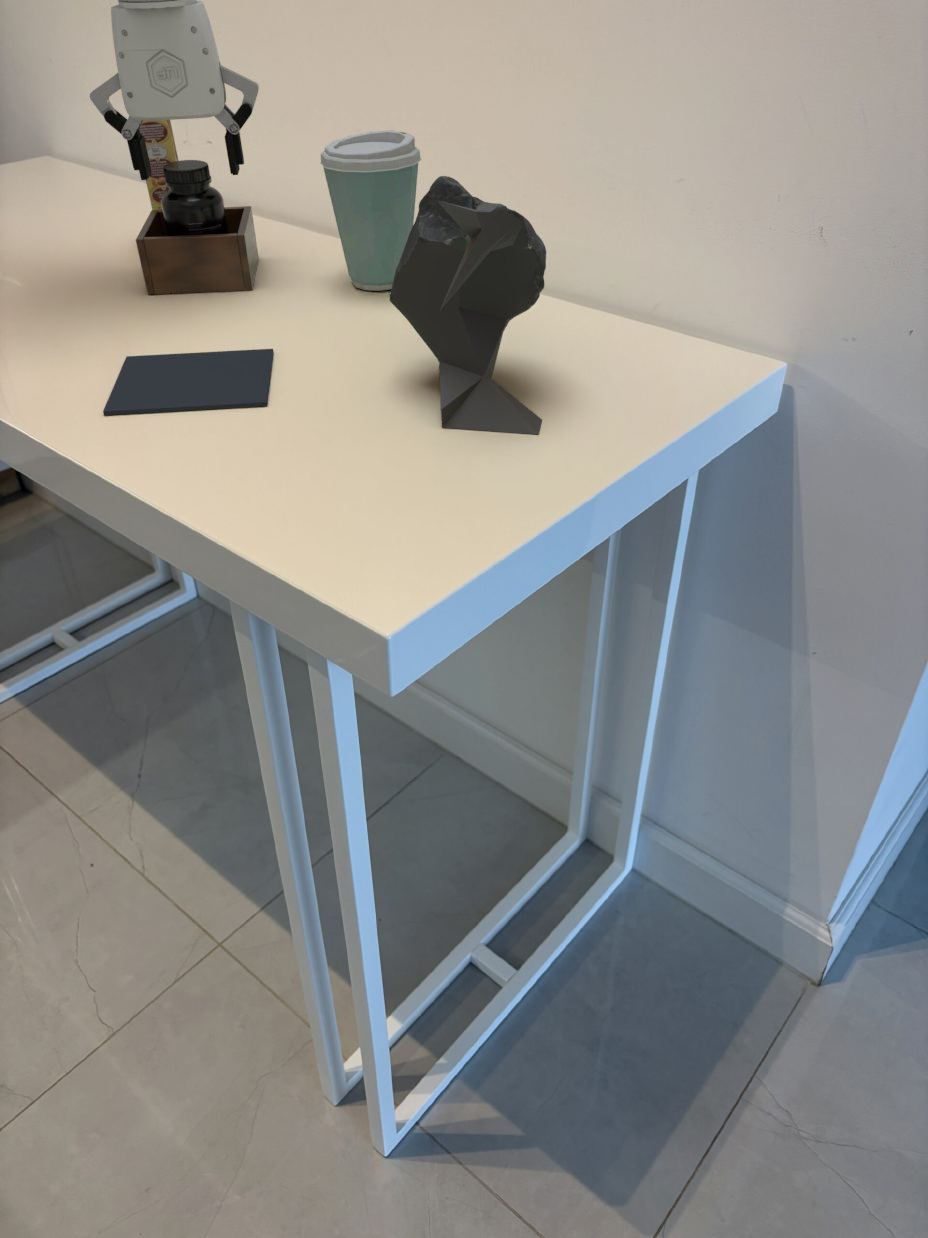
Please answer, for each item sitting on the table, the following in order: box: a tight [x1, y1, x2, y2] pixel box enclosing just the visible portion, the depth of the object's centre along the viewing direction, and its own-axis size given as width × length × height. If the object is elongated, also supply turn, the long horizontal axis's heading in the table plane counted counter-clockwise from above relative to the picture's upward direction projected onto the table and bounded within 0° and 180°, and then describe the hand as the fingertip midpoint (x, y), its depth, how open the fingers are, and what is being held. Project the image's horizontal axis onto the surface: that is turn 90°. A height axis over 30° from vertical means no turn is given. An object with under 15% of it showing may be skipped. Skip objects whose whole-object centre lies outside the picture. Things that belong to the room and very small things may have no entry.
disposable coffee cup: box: [320, 129, 422, 292], centre depth 102 cm, size 11×11×15 cm
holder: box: [135, 205, 260, 296], centre depth 107 cm, size 12×12×6 cm
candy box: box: [139, 120, 179, 211], centre depth 114 cm, size 9×4×15 cm, turn 15°
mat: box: [102, 348, 274, 416], centre depth 86 cm, size 14×12×1 cm
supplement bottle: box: [161, 159, 229, 236], centre depth 106 cm, size 7×7×12 cm
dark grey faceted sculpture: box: [389, 175, 547, 435], centre depth 79 cm, size 14×15×18 cm
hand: (191, 174), depth 103 cm, fingers open, 9 cm apart
